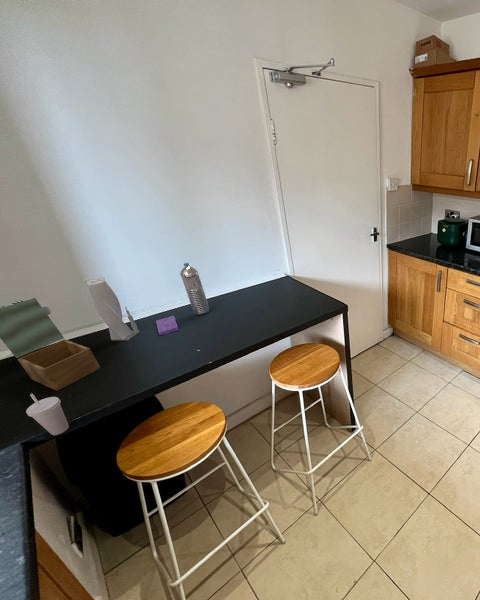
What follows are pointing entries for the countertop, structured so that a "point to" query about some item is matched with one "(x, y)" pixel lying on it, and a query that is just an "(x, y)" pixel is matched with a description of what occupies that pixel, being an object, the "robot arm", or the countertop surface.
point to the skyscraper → (110, 309)
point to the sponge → (167, 325)
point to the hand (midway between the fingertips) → (20, 324)
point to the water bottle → (194, 290)
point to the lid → (26, 327)
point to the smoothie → (49, 414)
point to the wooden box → (59, 364)
